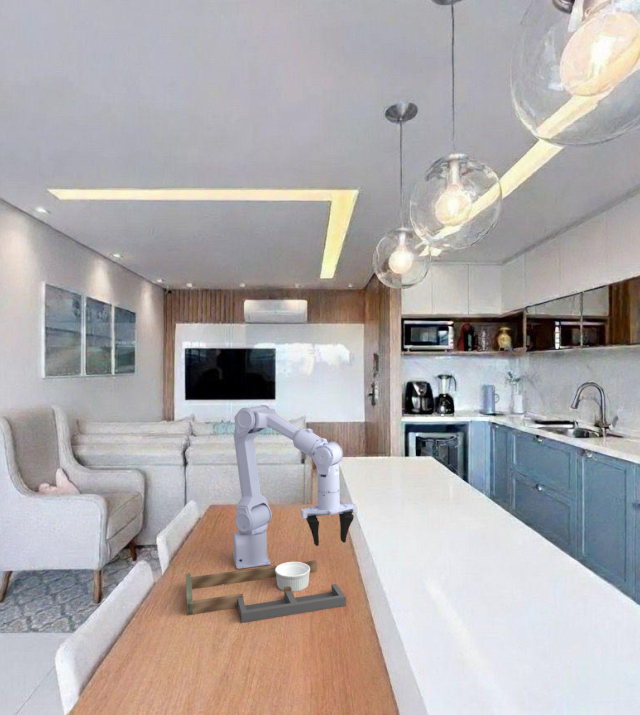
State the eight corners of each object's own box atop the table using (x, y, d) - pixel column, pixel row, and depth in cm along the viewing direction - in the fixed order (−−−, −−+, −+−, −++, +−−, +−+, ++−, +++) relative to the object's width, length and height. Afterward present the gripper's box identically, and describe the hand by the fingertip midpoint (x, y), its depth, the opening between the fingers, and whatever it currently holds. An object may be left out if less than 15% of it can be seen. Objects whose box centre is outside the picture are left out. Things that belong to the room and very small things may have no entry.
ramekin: (317, 584, 126) (317, 567, 126) (292, 597, 119) (292, 579, 119) (292, 575, 132) (292, 558, 132) (268, 586, 125) (267, 569, 125)
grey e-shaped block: (241, 622, 108) (241, 613, 108) (237, 607, 115) (237, 598, 115) (345, 605, 114) (345, 596, 114) (336, 591, 121) (336, 583, 121)
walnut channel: (187, 615, 111) (186, 599, 112) (186, 587, 125) (185, 573, 125) (331, 592, 121) (331, 578, 121) (315, 569, 135) (315, 556, 135)
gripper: (305, 496, 123) (306, 551, 123) (360, 491, 127) (361, 544, 127) (298, 489, 130) (299, 542, 129) (351, 485, 134) (352, 535, 134)
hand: (329, 542), depth 129 cm, fingers open, 7 cm apart
